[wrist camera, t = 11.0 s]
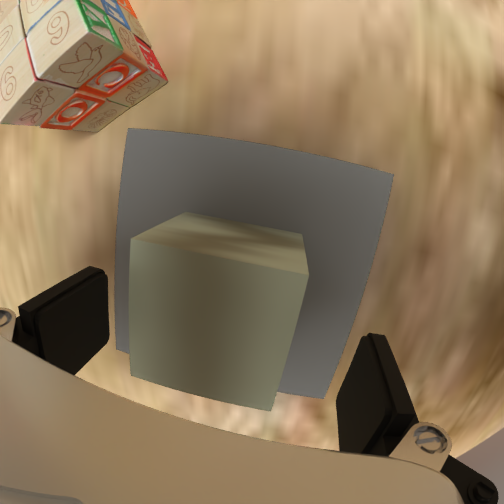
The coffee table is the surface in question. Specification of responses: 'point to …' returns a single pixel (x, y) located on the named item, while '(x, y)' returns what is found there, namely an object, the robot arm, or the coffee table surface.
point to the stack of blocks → (73, 63)
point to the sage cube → (215, 307)
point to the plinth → (263, 214)
